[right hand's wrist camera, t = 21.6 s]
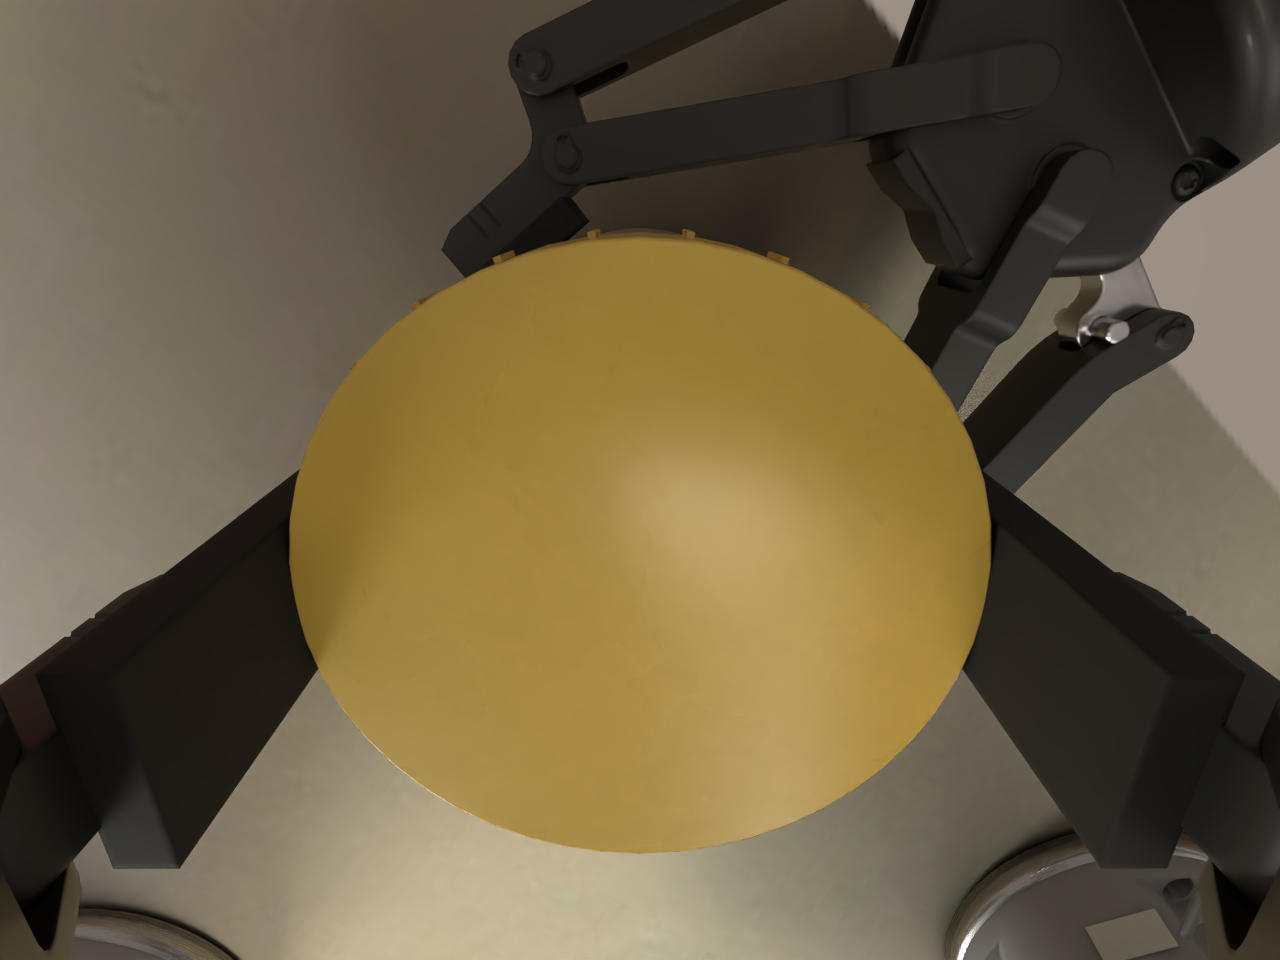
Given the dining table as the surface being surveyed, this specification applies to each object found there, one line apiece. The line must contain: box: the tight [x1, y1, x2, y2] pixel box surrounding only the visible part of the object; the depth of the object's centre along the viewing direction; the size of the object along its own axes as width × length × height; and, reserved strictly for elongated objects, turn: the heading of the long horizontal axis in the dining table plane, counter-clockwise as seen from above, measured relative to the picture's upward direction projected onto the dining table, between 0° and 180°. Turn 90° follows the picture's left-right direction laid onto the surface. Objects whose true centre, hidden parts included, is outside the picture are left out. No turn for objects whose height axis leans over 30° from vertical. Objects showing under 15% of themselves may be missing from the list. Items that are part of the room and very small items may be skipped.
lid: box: [289, 229, 991, 853], centre depth 11 cm, size 11×11×2 cm
